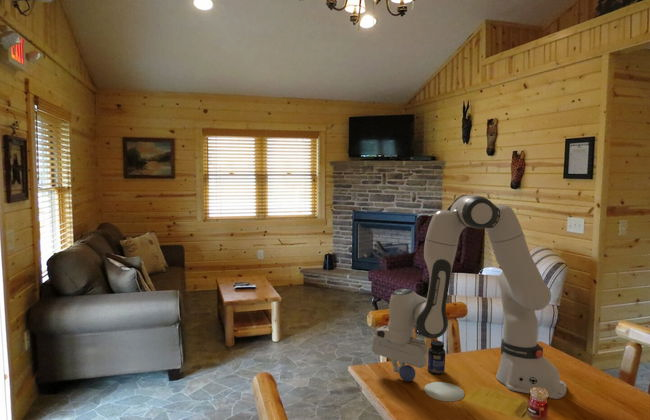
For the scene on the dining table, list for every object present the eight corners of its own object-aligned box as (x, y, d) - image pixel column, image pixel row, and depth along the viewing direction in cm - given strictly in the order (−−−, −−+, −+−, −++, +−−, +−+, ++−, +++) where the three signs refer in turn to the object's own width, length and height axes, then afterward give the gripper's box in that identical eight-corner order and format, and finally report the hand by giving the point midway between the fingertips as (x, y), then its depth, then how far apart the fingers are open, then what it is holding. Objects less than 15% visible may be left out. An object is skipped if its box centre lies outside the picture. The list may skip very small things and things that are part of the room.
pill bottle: (432, 376, 164) (433, 346, 163) (424, 368, 169) (425, 340, 168) (447, 374, 165) (449, 345, 164) (439, 367, 171) (440, 338, 170)
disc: (469, 389, 154) (469, 389, 154) (456, 405, 143) (456, 405, 143) (433, 379, 161) (433, 378, 161) (418, 393, 151) (418, 392, 151)
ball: (410, 380, 162) (420, 372, 160) (404, 386, 158) (414, 379, 155) (400, 367, 164) (410, 359, 161) (394, 373, 159) (404, 365, 157)
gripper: (431, 339, 157) (428, 377, 158) (379, 325, 169) (377, 361, 170) (423, 344, 152) (421, 384, 153) (370, 329, 164) (368, 366, 165)
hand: (397, 372), depth 162 cm, fingers closed
